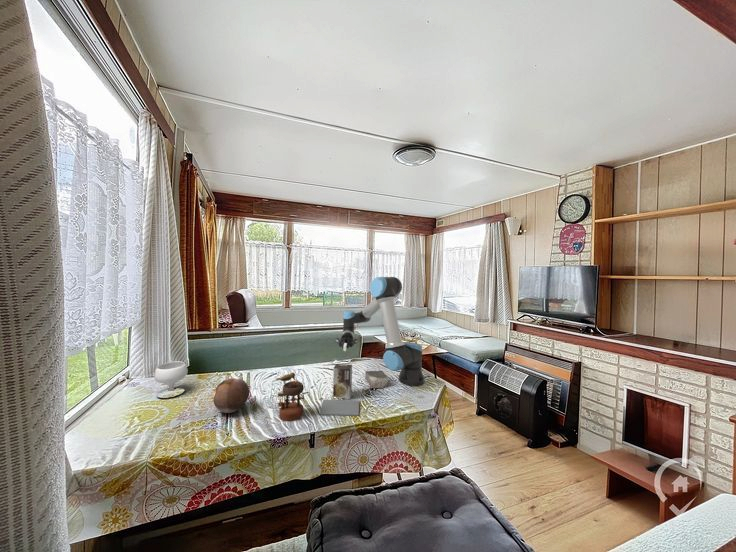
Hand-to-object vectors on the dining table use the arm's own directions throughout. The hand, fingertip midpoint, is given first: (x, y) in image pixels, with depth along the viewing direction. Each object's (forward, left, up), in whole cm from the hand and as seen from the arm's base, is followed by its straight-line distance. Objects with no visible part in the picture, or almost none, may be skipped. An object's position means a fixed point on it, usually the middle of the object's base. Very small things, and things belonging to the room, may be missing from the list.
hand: (344, 348), depth 155 cm
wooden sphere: (+50, +28, -22) cm, 61 cm away
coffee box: (0, +11, -22) cm, 25 cm away
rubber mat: (0, +23, -22) cm, 32 cm away
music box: (+21, +30, -22) cm, 42 cm away
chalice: (+88, +13, -22) cm, 92 cm away
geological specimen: (-19, -7, -23) cm, 30 cm away
